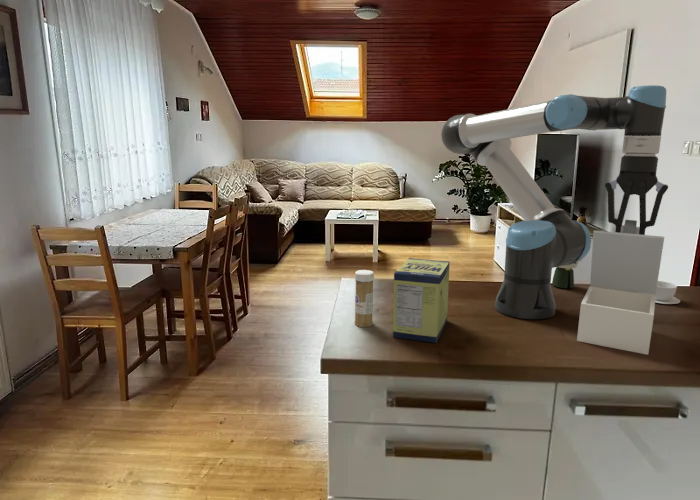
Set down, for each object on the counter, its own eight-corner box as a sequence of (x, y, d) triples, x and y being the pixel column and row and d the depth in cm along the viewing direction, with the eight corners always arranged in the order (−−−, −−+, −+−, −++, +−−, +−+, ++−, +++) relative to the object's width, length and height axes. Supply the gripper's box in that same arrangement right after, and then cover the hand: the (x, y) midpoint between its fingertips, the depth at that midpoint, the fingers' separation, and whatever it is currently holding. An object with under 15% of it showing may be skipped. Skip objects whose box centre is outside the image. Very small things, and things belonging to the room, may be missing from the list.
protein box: (447, 320, 126) (450, 260, 122) (437, 344, 111) (440, 276, 108) (406, 315, 129) (408, 257, 126) (391, 338, 115) (393, 272, 111)
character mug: (552, 291, 150) (556, 249, 147) (540, 284, 157) (543, 244, 154) (585, 289, 152) (590, 247, 149) (571, 283, 158) (576, 243, 156)
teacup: (679, 298, 145) (681, 282, 144) (680, 307, 136) (683, 291, 135) (639, 292, 150) (641, 277, 149) (638, 301, 141) (641, 285, 140)
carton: (576, 340, 113) (580, 303, 111) (586, 319, 127) (590, 285, 125) (648, 354, 106) (653, 315, 104) (650, 330, 119) (655, 295, 117)
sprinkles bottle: (350, 324, 123) (350, 271, 120) (364, 319, 126) (364, 268, 123) (363, 329, 120) (364, 275, 117) (377, 324, 123) (377, 271, 120)
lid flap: (590, 285, 125) (595, 264, 130) (655, 294, 117) (658, 272, 123) (593, 232, 116) (599, 212, 122) (664, 238, 109) (666, 217, 115)
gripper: (601, 154, 118) (590, 251, 123) (679, 156, 110) (664, 260, 115) (604, 154, 124) (594, 246, 129) (679, 155, 116) (664, 254, 121)
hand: (627, 252), depth 122 cm, fingers closed on lid flap, 2 cm apart
